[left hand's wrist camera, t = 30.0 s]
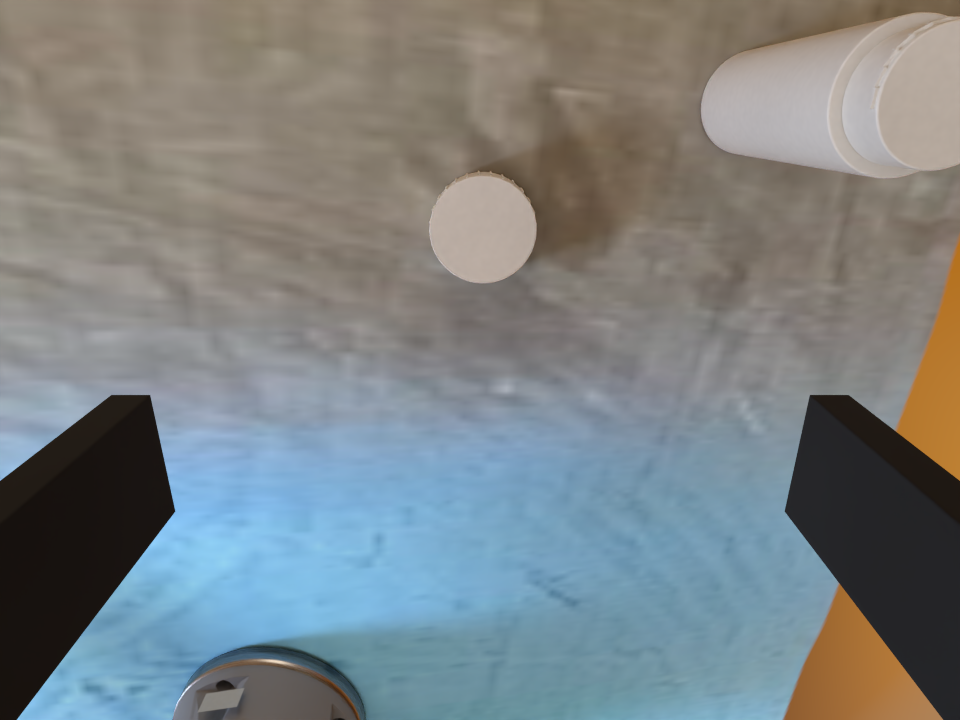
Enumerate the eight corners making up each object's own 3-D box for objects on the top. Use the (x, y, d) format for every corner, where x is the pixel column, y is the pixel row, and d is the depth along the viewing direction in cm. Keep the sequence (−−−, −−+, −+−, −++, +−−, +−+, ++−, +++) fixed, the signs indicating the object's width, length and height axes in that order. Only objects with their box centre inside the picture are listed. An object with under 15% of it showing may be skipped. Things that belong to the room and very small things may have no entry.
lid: (421, 260, 38) (417, 269, 36) (444, 158, 36) (442, 161, 34) (518, 285, 39) (520, 295, 36) (547, 186, 36) (551, 191, 34)
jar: (807, 48, 34) (1062, 1, 19) (789, 154, 36) (1007, 185, 21) (707, 49, 34) (884, 1, 19) (694, 154, 36) (845, 185, 21)
